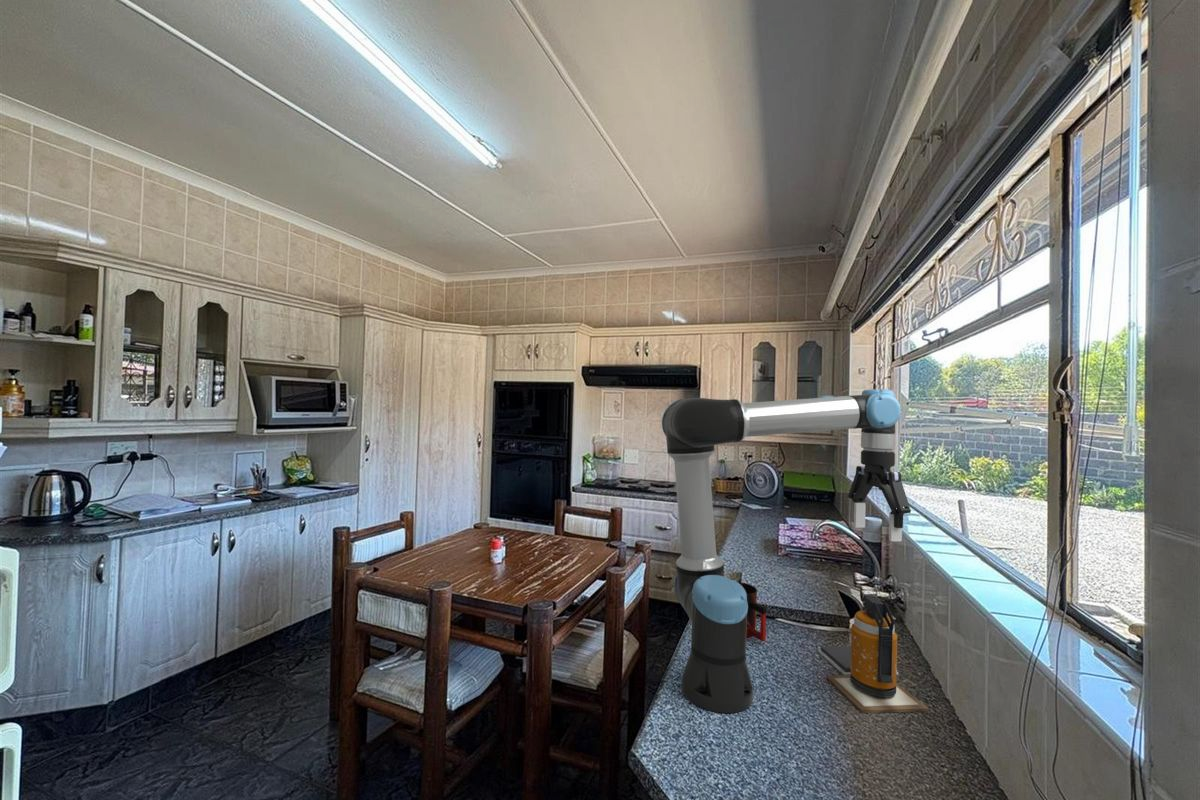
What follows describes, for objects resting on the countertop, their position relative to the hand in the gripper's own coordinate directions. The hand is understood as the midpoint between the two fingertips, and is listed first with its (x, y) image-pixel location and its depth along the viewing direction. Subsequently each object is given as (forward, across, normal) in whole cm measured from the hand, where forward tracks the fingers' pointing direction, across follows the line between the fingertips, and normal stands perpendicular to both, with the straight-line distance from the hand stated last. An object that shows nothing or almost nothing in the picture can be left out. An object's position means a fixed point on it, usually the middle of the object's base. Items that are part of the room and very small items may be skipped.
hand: (876, 533), depth 121 cm
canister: (+31, -14, +10) cm, 36 cm away
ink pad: (+32, -1, +5) cm, 32 cm away
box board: (+32, -14, +10) cm, 36 cm away
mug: (+32, +16, +27) cm, 45 cm away
